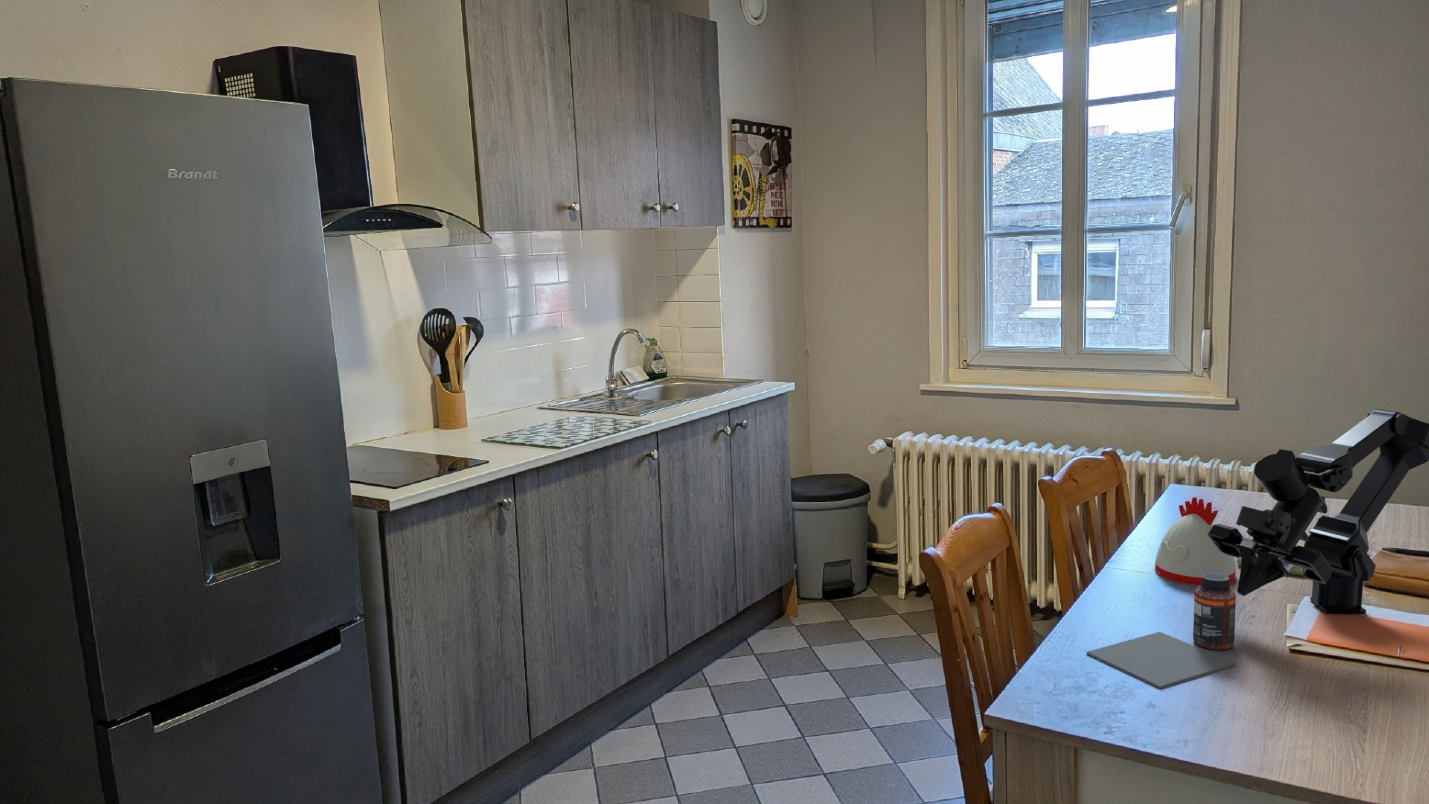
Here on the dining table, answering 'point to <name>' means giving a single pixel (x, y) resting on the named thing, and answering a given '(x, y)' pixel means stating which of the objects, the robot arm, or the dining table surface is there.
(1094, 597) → the dining table surface
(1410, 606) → the dining table surface
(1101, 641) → the dining table surface
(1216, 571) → the kitchen timer
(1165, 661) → the mat
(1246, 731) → the dining table surface
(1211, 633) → the supplement bottle
